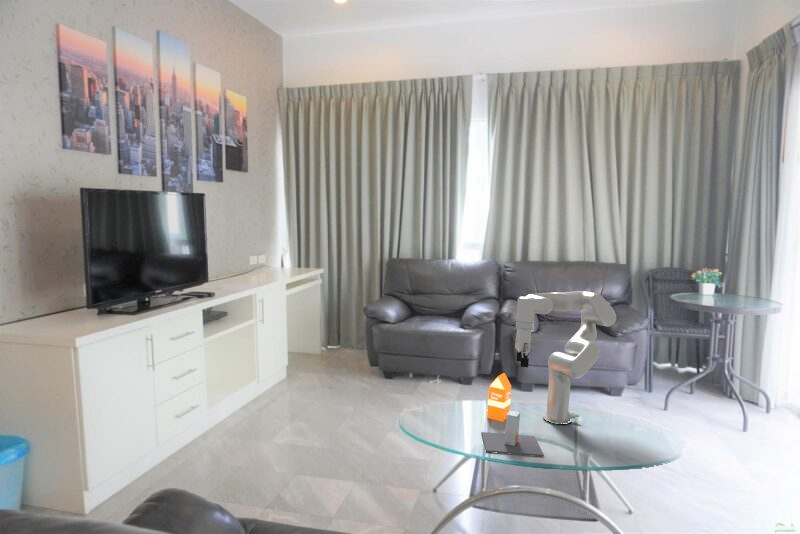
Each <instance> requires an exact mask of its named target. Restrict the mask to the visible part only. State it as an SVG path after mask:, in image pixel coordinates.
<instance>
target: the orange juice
mask: <svg viewBox="0 0 800 534" xmlns="http://www.w3.org/2000/svg"><path fill="white" fill-rule="evenodd" d="M511 397H512V384H511V383H510V381H509V378H508V377H507V375H506V373H505V372H503V373H501V374H499V375H498V376H497V377H496V378H495V379H494V381H492V383H490V385H489V386H488V400H487V413H486V415H487V416H486V418H487V417H488V418H487V419H490V420H494V421H495V420H496V421H499V422H504V421H506V415H507V414H508V412H510V411H511V409H510V408H511Z"/></svg>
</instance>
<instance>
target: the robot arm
mask: <svg viewBox="0 0 800 534" xmlns="http://www.w3.org/2000/svg"><path fill="white" fill-rule="evenodd" d="M516 305H517V306H516V318H515V319H516V320H515V328H516V336H515V345H514V348H515V349H516V362H520V367H521V368H528V367H529V363H530V362H529V361H530V356H529V354H530V352H531V343H532V331H533V330H534V328H535V327H534V325H535V314H539V315H548V314H549V313H551V312H552V311H555V312H569V311H578V310H581V312H580V323H581V324H580V327H579V329H578V330H577V332H576V333H575V334H573V336H571V338H570V339H569V340H568V341H567V342H566V344H565V346H564V352H565V353H564V352H561V351H555V352H552V353H551V354H550V355H549V357H548V359H547V367H548V389H547V400H546V401H547V402H546V413H543V415H542V419H543V418H544V419H545V420H546V421H545V420H544V419H543V420H544V421H545V422H547V421H549V422H553V423H558V424H561V423H562V424H563V423H568V421H570V419H571V420H572V419H574V418H575V417H579V418H580V415H579V414H575V413H574V412H569V411H570V409H569V408H570V395H571V393H570V392H571V380H570V378H571V379H575V380H577V379H581V378H582V377H583V376H585V374H587V372H589V370H590V369H591V368H592V367H593V366H594V364H595V363H597V361H598V359H599V357H600V354H601V348H600V345H598V344H597V343H596V339H597V337H598V331H597V327H596V326H604V327H612V326H614V325H615V323H616V322H617V314H616V312H615V309H614V308H613V307H612V306H611V305H610V304H609V302H608V301H607V300H606V299H605V298H604V296H602V295H601V294H600V293H597V292H594V291H587V290H575V291H565V292H537V293H530V294H527V295H526V296H519V297H518V298H517V304H516ZM549 422H548V423H549Z"/></svg>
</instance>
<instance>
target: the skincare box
mask: <svg viewBox="0 0 800 534" xmlns="http://www.w3.org/2000/svg"><path fill="white" fill-rule="evenodd" d="M520 416H521V412H520V411H515V410H510V412H508V414H507V415H506V419H505V428H504V429H505V430H504V434H505V440H504V443H505V444H508V445H512V446H515V444H516V443H517V441H518V435H519V432H520V420H521V417H520Z"/></svg>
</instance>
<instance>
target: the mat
mask: <svg viewBox="0 0 800 534" xmlns="http://www.w3.org/2000/svg"><path fill="white" fill-rule="evenodd" d="M480 435H481V439H482V442H483V447H484V451H485V450H486V451H485V453H489V452H497V453H496V454H501V453H511V454H510V455H514V454H522V455H521V456H526V455H535V456H534V457H539V456H544V457H545V455H544V452H543V450H542V448H541V447H540V444H539V442H538V440H537V438H536V436H535V435H527V434H526V435H523V434H518V441H517V443H516V444H515V446H512V445H508V444H505V443H504V440H505V433H502V432H501V433H500V432H488V431H486V432H485V431H481V433H480Z"/></svg>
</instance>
